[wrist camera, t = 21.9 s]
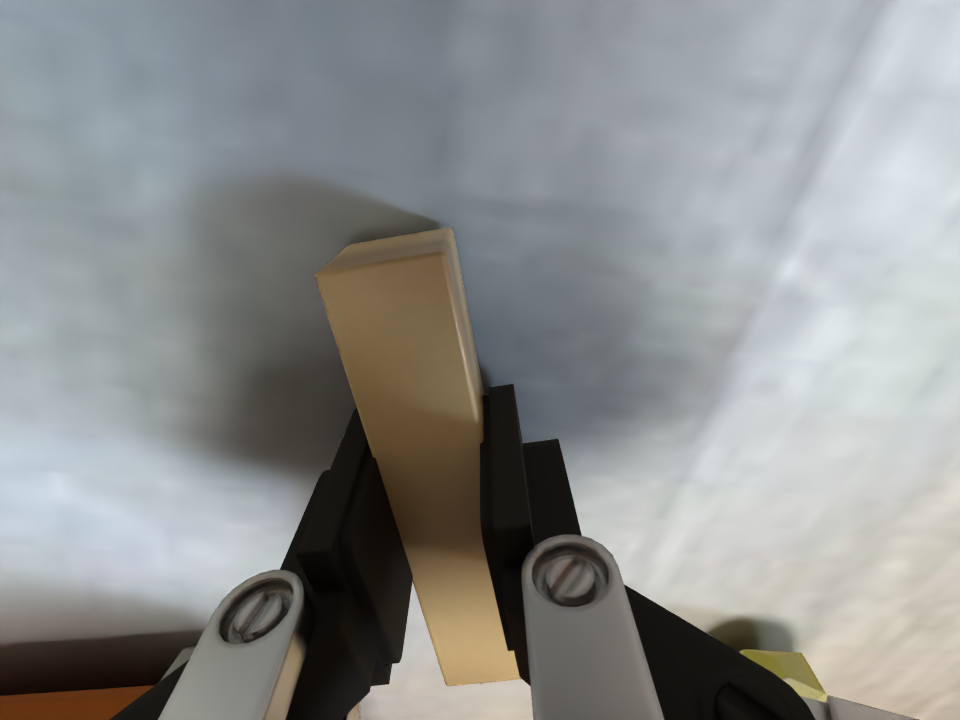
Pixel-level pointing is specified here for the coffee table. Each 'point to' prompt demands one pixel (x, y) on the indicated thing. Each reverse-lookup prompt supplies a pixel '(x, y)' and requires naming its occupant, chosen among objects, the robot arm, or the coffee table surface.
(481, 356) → the coffee table surface
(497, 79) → the coffee table surface
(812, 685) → the knife
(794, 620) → the coffee table surface
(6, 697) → the orange oval container
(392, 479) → the wooden block
